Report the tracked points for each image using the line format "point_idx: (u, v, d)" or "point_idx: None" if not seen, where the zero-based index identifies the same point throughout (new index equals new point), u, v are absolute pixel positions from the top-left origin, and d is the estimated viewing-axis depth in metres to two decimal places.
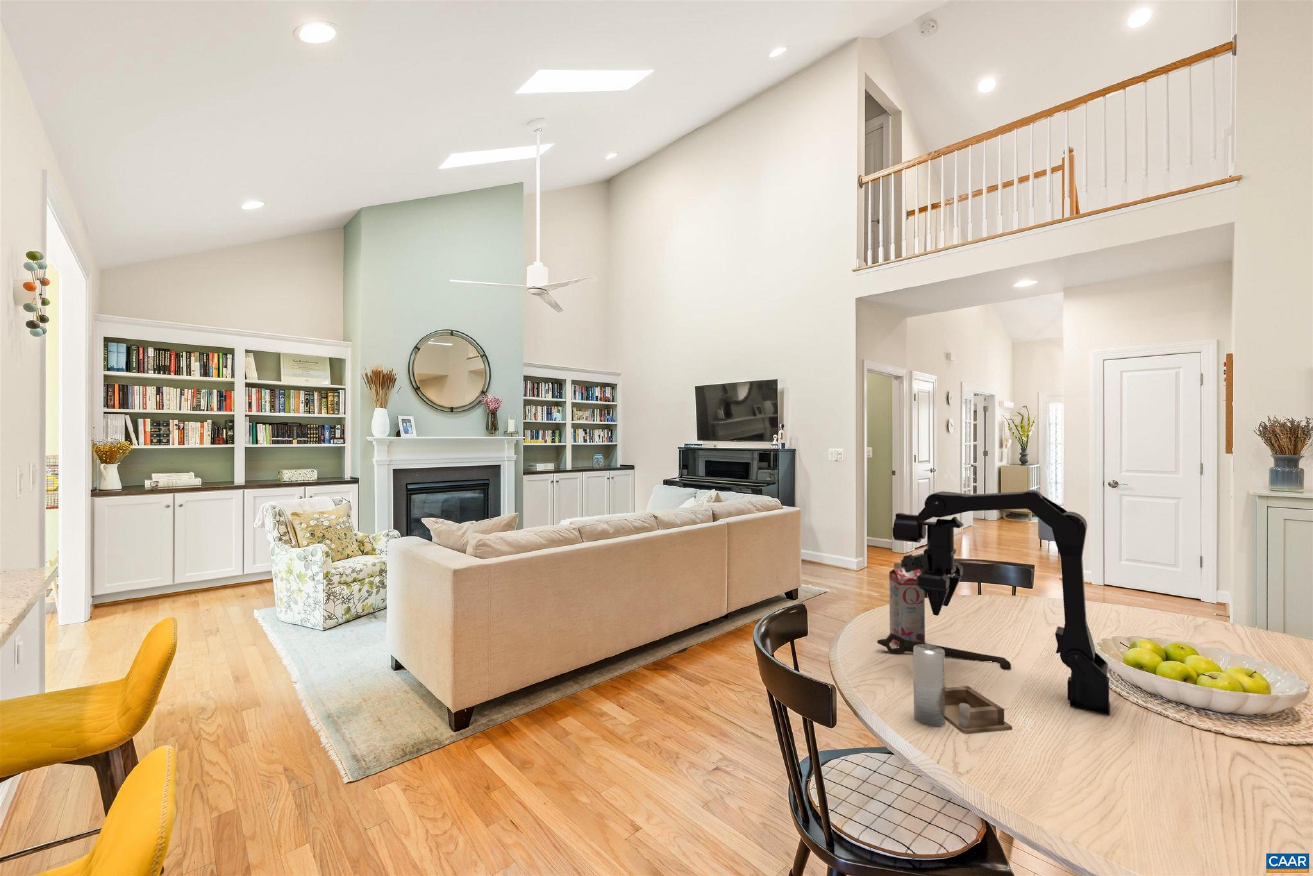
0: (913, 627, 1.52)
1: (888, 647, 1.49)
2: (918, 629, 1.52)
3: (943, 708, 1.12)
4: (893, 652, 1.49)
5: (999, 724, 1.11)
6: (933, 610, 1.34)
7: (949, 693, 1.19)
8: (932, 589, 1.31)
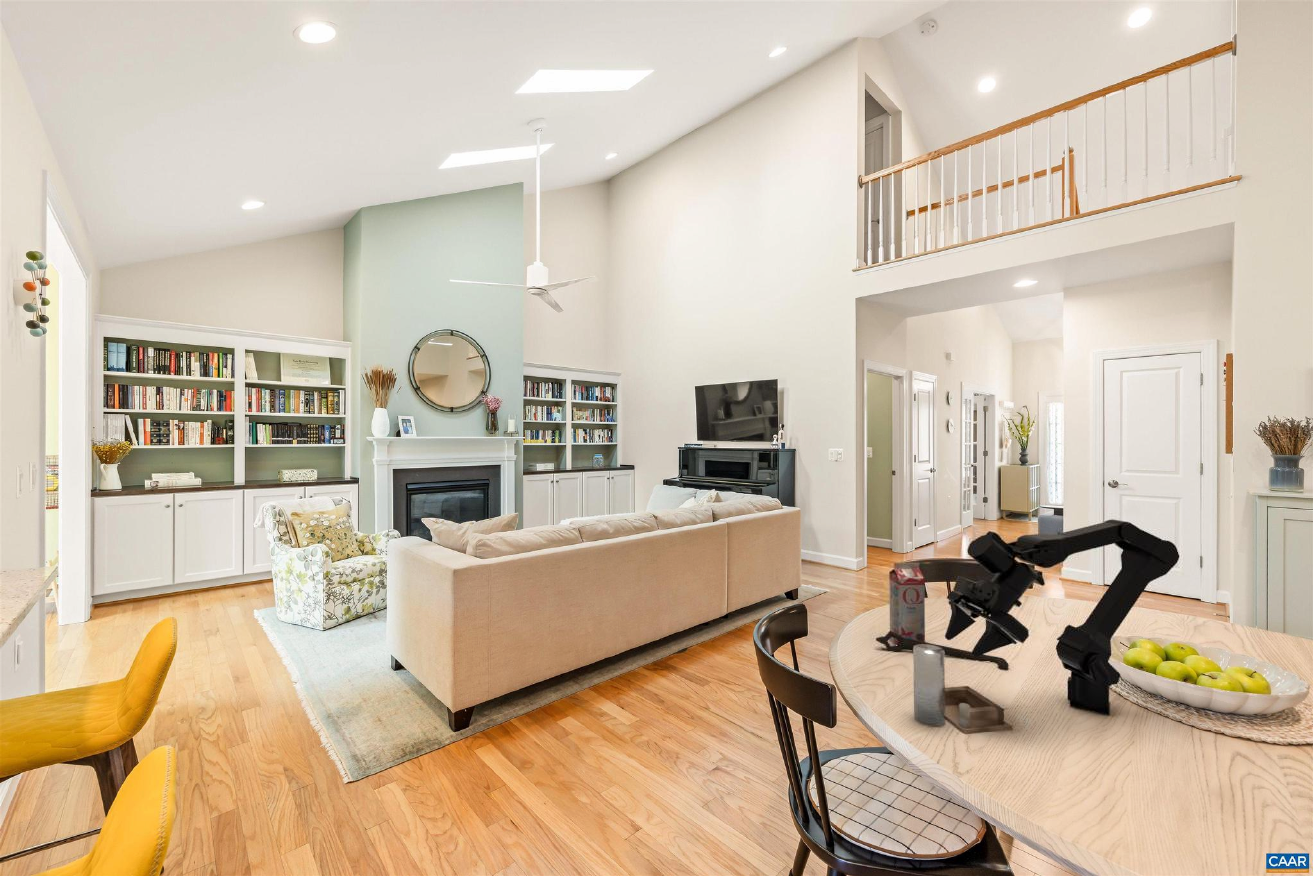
0: (913, 627, 1.52)
1: (886, 644, 1.51)
2: (918, 629, 1.52)
3: (943, 708, 1.12)
4: (891, 650, 1.51)
5: (999, 724, 1.11)
6: (977, 650, 1.13)
7: (949, 693, 1.19)
8: (1006, 635, 1.10)
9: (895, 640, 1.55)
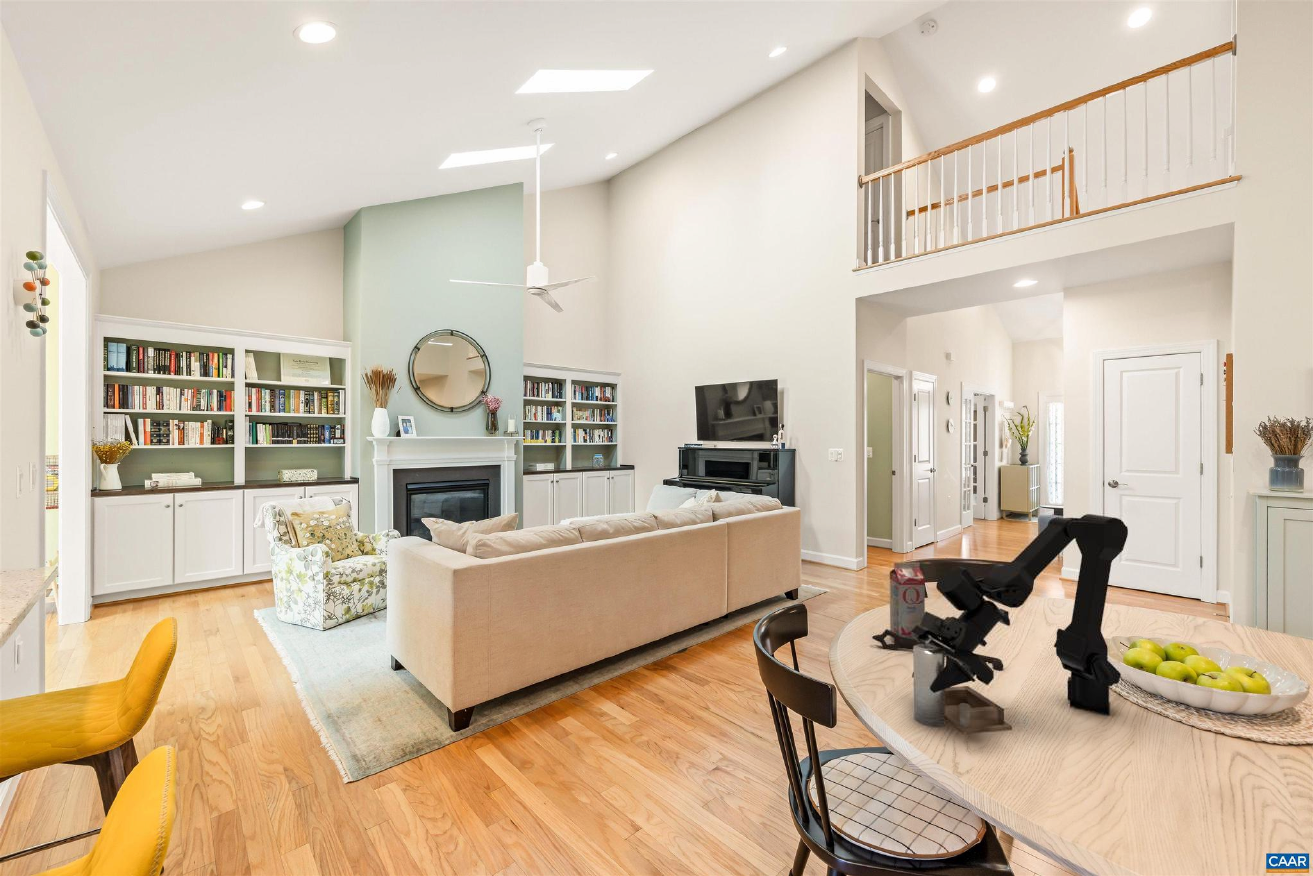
0: (913, 627, 1.52)
1: (882, 642, 1.52)
2: None
3: (943, 708, 1.12)
4: (887, 648, 1.52)
5: (999, 724, 1.11)
6: (935, 686, 1.11)
7: (949, 693, 1.19)
8: (966, 672, 1.09)
9: None
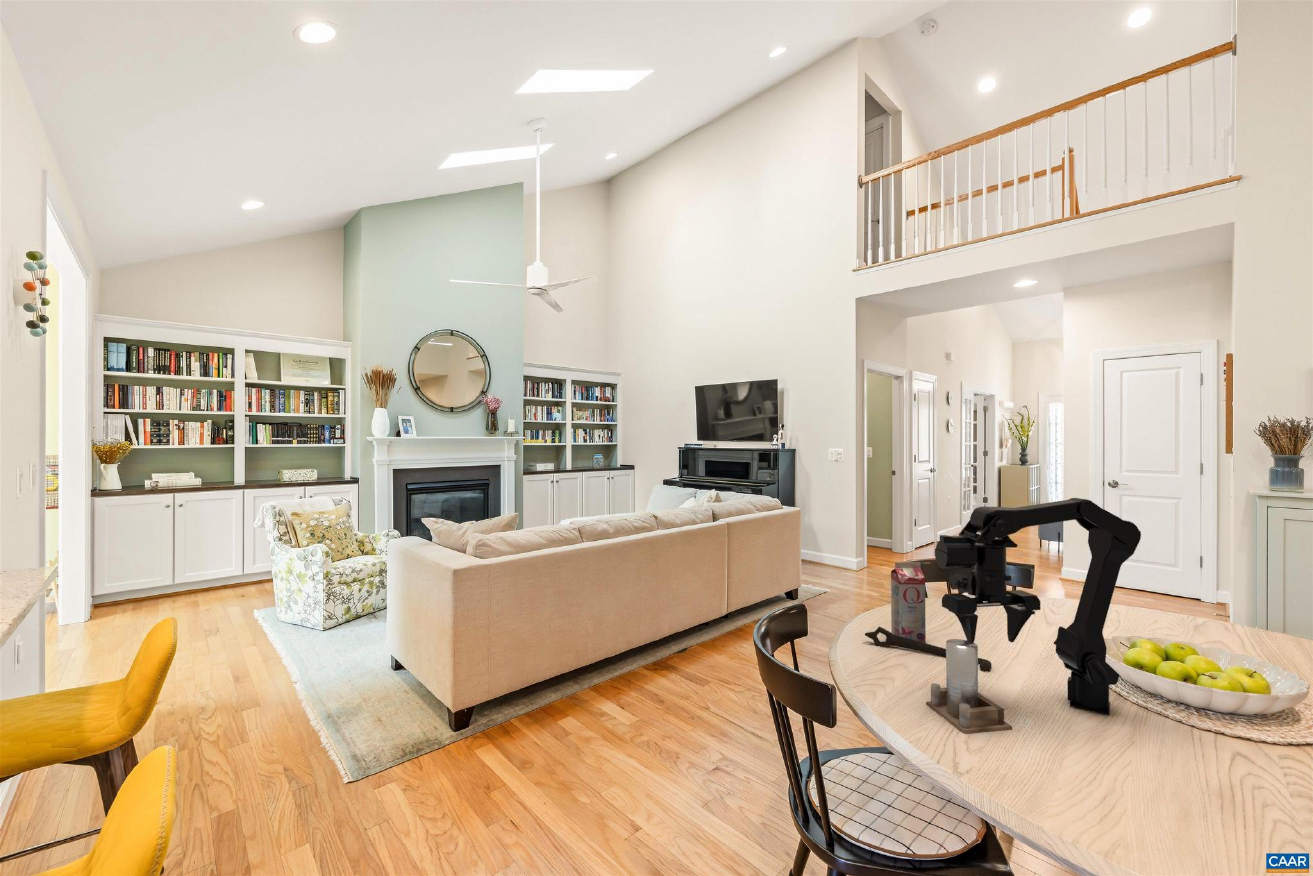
0: (913, 627, 1.53)
1: (874, 639, 1.55)
2: (919, 629, 1.53)
3: (976, 702, 1.13)
4: (879, 645, 1.54)
5: (999, 724, 1.11)
6: (967, 638, 1.20)
7: None
8: (955, 612, 1.19)
9: None
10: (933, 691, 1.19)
